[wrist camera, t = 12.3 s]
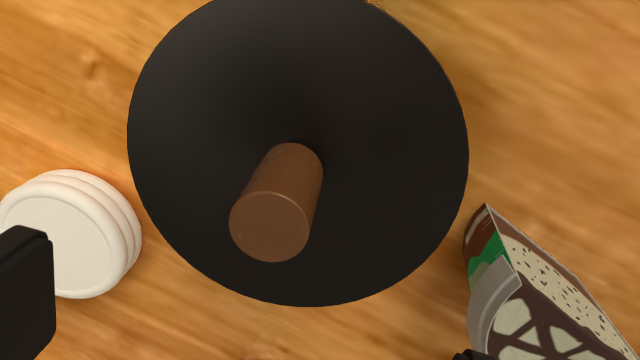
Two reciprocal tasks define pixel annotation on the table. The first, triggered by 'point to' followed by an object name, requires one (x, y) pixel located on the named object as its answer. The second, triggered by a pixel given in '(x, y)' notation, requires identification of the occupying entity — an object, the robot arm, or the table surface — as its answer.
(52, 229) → the coaster
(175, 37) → the lid
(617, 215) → the table surface
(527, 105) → the table surface
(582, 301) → the food container
